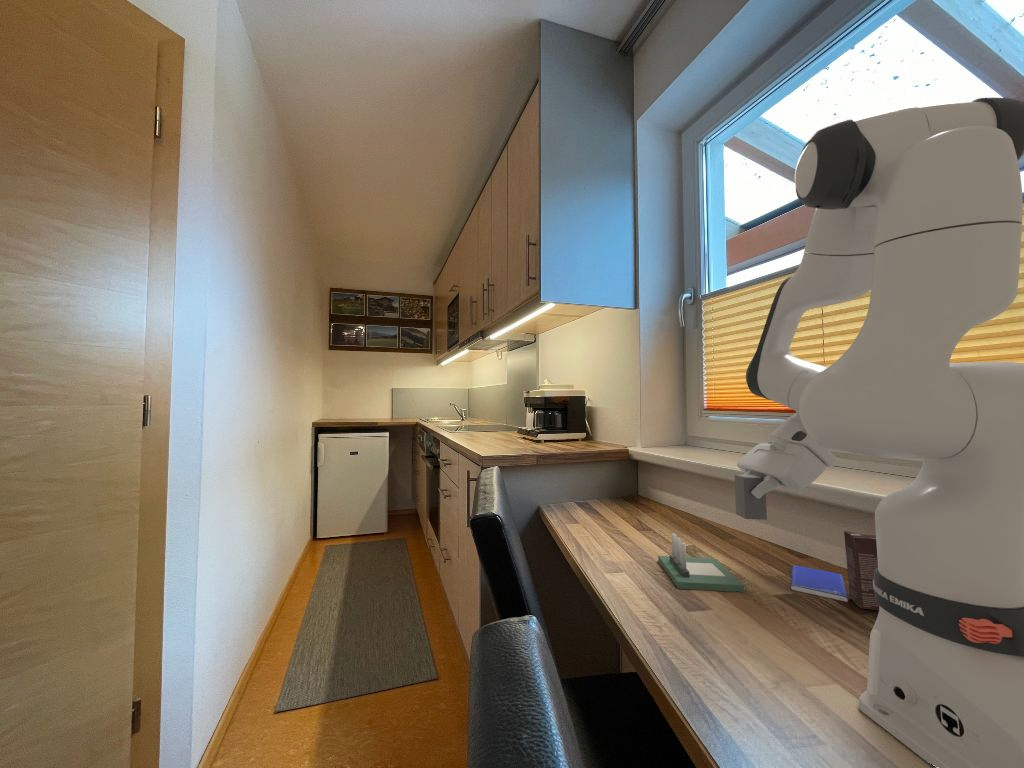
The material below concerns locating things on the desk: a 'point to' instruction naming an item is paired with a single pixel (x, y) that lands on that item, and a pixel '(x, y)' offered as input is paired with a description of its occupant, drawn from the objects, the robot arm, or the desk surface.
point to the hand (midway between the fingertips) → (746, 492)
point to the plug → (749, 498)
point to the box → (861, 567)
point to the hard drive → (818, 583)
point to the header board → (697, 571)
